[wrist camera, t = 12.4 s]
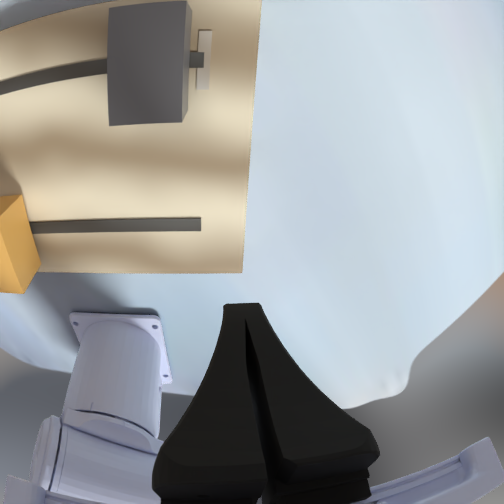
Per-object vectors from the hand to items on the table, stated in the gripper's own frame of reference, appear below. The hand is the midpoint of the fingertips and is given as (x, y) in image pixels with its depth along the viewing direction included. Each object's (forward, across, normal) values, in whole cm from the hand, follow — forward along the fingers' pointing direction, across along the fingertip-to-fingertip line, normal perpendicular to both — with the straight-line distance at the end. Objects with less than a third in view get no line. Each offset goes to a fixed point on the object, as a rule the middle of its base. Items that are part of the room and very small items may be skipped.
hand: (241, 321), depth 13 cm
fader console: (+9, +12, -5) cm, 16 cm away
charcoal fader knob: (+7, +4, -9) cm, 12 cm away
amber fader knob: (+7, +14, 0) cm, 16 cm away
